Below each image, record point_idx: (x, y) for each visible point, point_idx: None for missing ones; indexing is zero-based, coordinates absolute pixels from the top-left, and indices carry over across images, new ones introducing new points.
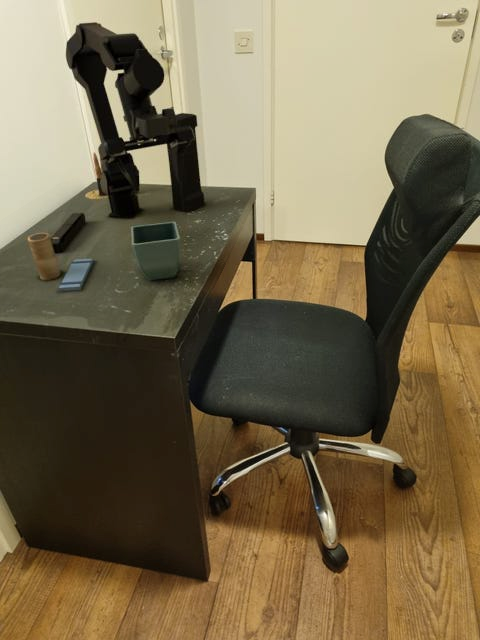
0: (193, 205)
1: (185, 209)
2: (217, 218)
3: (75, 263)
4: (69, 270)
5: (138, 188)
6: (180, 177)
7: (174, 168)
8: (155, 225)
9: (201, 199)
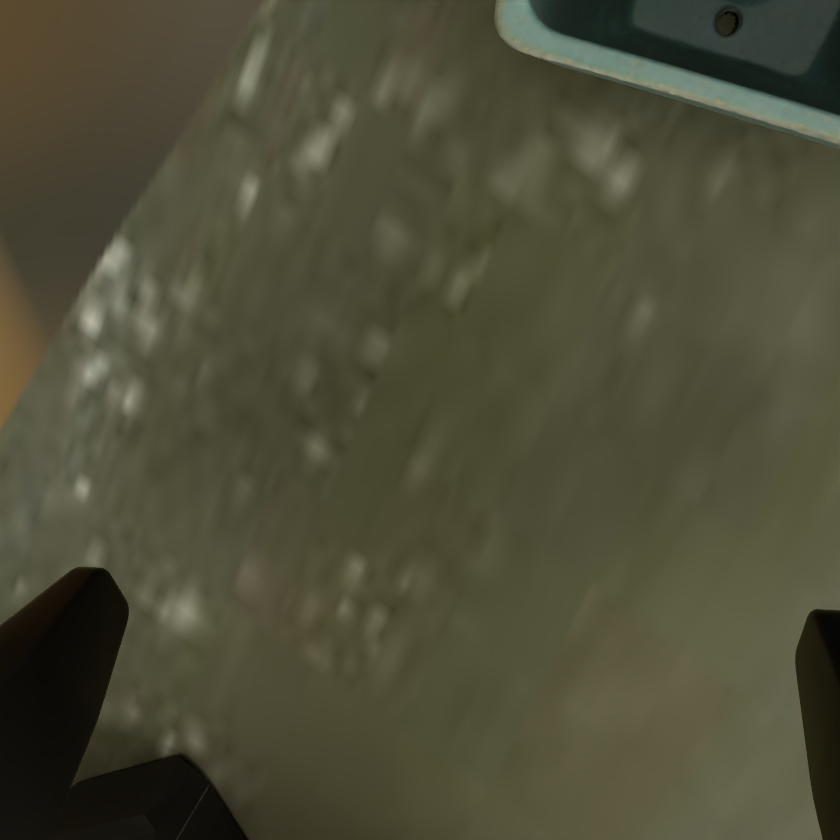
0: (135, 785)
1: (195, 784)
2: (63, 574)
3: None
4: None
5: (836, 629)
6: (45, 598)
7: (20, 821)
8: (740, 86)
9: (66, 812)
